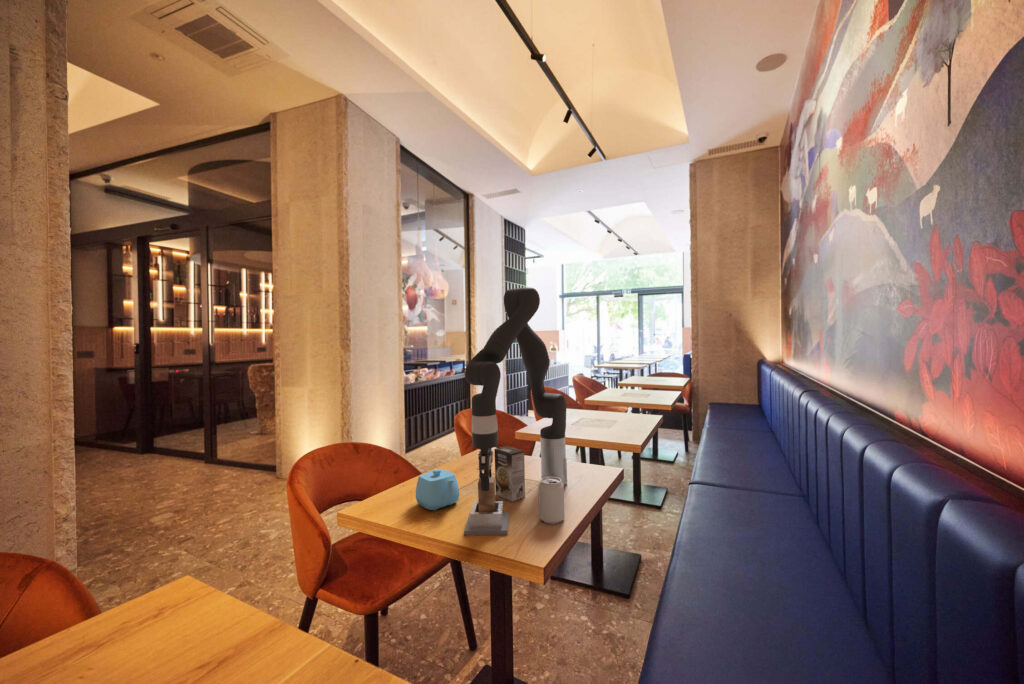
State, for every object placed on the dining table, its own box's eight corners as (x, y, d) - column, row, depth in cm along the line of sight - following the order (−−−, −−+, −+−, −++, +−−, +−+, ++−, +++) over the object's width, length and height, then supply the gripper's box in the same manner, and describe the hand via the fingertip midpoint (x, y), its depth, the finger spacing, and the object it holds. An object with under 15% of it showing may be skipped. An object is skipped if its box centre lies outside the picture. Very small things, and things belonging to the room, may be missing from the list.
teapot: (437, 520, 125) (436, 482, 125) (410, 503, 138) (409, 469, 138) (471, 508, 133) (470, 472, 133) (442, 493, 146) (441, 461, 146)
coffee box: (494, 494, 143) (493, 448, 143) (508, 489, 147) (507, 445, 147) (511, 502, 136) (510, 453, 136) (526, 496, 141) (524, 449, 140)
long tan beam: (495, 517, 122) (494, 477, 122) (494, 524, 118) (493, 482, 118) (480, 517, 122) (479, 477, 122) (479, 524, 118) (477, 482, 118)
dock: (508, 515, 126) (508, 498, 126) (507, 534, 114) (506, 515, 114) (469, 516, 126) (469, 499, 126) (464, 535, 114) (463, 516, 114)
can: (548, 527, 118) (547, 485, 117) (534, 517, 124) (533, 478, 124) (569, 521, 121) (568, 480, 121) (555, 512, 128) (554, 473, 128)
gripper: (496, 435, 113) (498, 494, 113) (498, 423, 127) (500, 476, 127) (468, 436, 113) (470, 494, 113) (474, 424, 127) (476, 476, 127)
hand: (486, 484), depth 120 cm, fingers open, 8 cm apart
